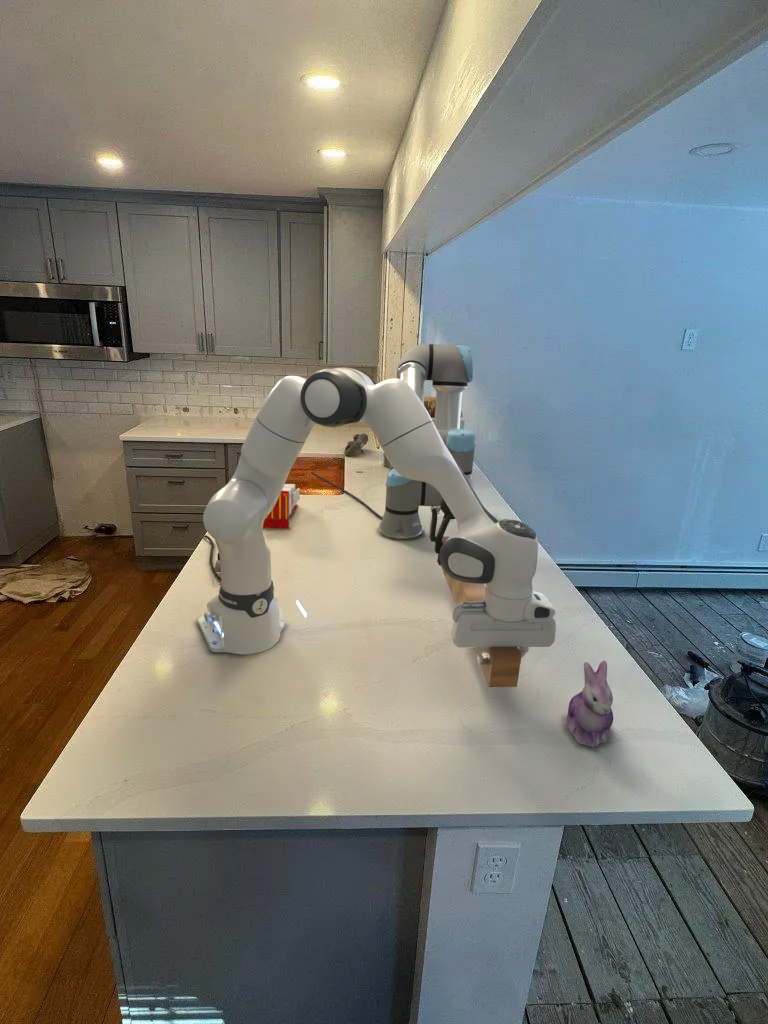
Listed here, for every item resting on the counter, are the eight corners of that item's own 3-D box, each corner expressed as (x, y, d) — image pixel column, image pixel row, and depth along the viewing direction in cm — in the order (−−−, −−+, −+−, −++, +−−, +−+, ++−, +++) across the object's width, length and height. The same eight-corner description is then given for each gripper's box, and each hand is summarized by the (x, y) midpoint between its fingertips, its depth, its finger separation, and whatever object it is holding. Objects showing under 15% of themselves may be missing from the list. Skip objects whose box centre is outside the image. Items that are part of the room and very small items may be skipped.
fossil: (344, 439, 317) (365, 424, 312) (355, 453, 320) (376, 438, 315) (338, 453, 298) (360, 437, 293) (349, 467, 300) (371, 451, 295)
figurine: (591, 756, 102) (606, 687, 97) (551, 721, 111) (563, 655, 106) (628, 741, 107) (644, 673, 101) (587, 708, 115) (599, 644, 110)
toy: (301, 479, 224) (291, 492, 194) (301, 512, 226) (291, 530, 197) (270, 478, 223) (256, 491, 194) (271, 511, 226) (256, 529, 197)
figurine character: (238, 584, 162) (249, 557, 175) (236, 562, 158) (247, 536, 172) (215, 584, 161) (227, 556, 175) (212, 561, 158) (225, 535, 171)
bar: (438, 559, 167) (439, 536, 165) (456, 559, 168) (458, 536, 165) (489, 687, 111) (493, 654, 108) (517, 687, 111) (521, 654, 109)
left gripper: (457, 610, 106) (451, 672, 110) (563, 610, 108) (552, 671, 112) (451, 594, 112) (445, 654, 116) (551, 594, 113) (541, 653, 118)
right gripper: (425, 490, 151) (420, 569, 159) (493, 491, 153) (485, 569, 161) (421, 482, 158) (416, 557, 166) (486, 483, 160) (478, 558, 168)
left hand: (498, 662), depth 114 cm, fingers closed on bar, 5 cm apart
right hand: (450, 563), depth 163 cm, fingers closed on bar, 6 cm apart
